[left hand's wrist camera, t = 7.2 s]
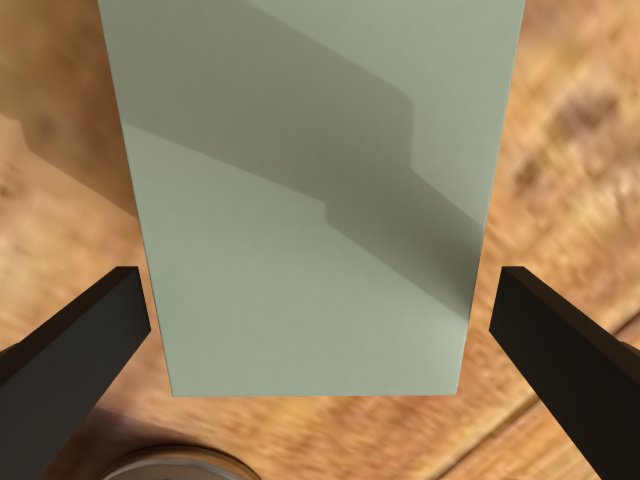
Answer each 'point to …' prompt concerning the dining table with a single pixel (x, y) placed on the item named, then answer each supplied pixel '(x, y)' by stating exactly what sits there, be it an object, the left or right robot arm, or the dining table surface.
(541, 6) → the dining table surface
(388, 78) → the pale green rectangular box
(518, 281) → the left robot arm
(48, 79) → the dining table surface
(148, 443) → the dining table surface
